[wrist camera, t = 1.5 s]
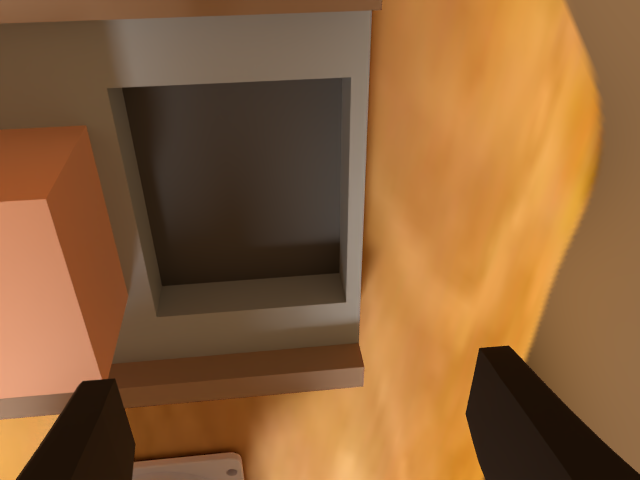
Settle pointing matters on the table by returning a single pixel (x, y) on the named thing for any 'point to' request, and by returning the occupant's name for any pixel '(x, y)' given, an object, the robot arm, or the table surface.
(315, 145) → the grey long tray
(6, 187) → the block
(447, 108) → the table surface
